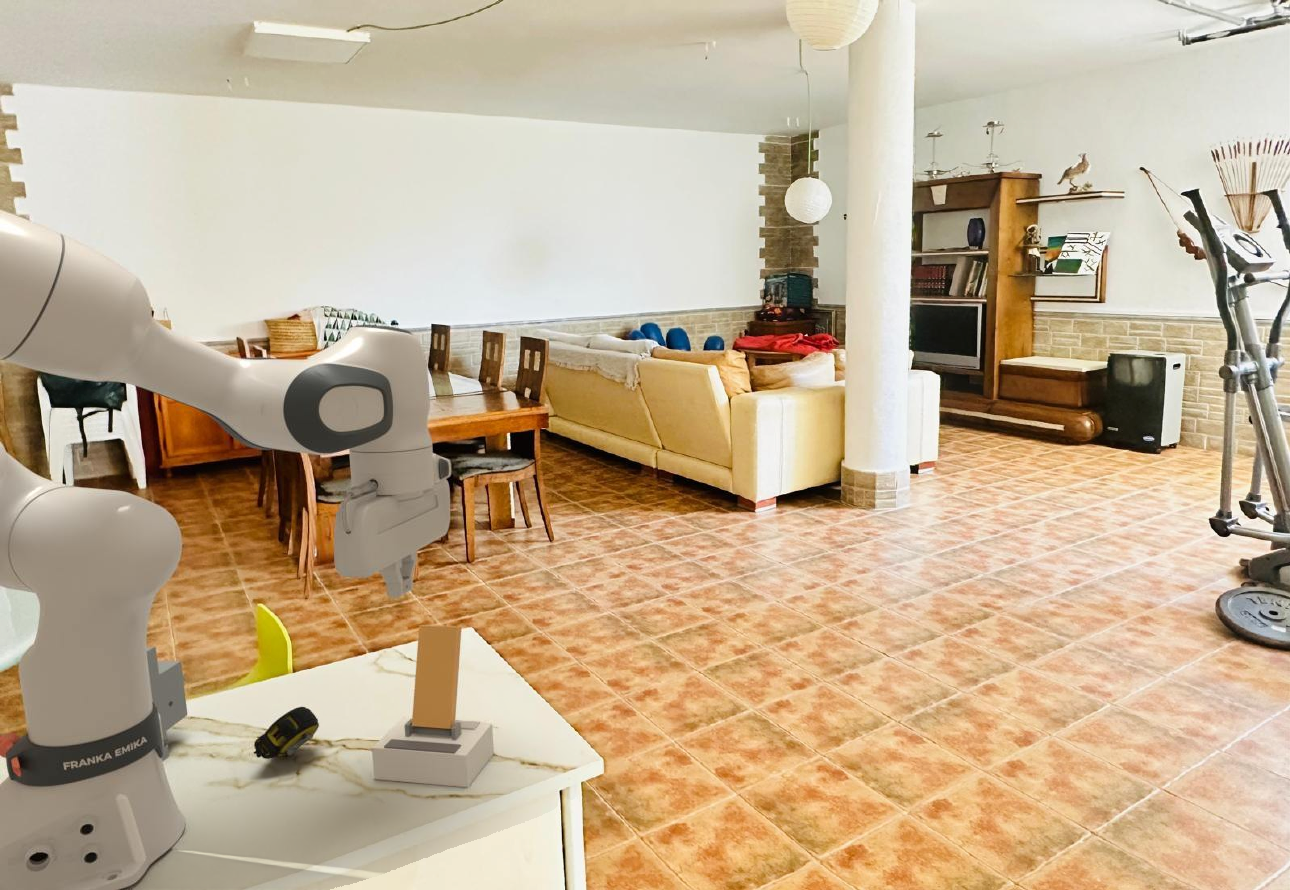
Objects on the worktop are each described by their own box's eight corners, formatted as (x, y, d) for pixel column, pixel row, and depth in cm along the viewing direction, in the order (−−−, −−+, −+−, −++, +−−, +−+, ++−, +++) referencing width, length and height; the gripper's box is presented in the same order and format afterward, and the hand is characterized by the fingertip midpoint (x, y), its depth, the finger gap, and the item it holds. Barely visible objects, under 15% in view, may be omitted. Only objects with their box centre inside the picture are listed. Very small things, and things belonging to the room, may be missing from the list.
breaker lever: (449, 736, 105) (456, 627, 107) (411, 734, 106) (419, 625, 108) (454, 735, 107) (461, 626, 109) (416, 732, 108) (424, 625, 110)
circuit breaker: (198, 735, 117) (185, 628, 115) (125, 793, 103) (109, 673, 101) (146, 734, 118) (132, 628, 116) (67, 792, 104) (49, 672, 102)
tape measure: (290, 763, 111) (273, 740, 112) (332, 725, 112) (315, 702, 113) (264, 768, 105) (246, 743, 106) (309, 728, 106) (291, 704, 107)
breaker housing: (468, 787, 102) (465, 743, 101) (374, 779, 105) (370, 736, 104) (493, 753, 110) (491, 712, 109) (406, 746, 112) (402, 705, 112)
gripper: (370, 491, 86) (379, 626, 88) (457, 459, 106) (463, 570, 108) (313, 490, 87) (322, 623, 89) (409, 458, 107) (415, 568, 109)
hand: (400, 594), depth 99 cm, fingers closed
